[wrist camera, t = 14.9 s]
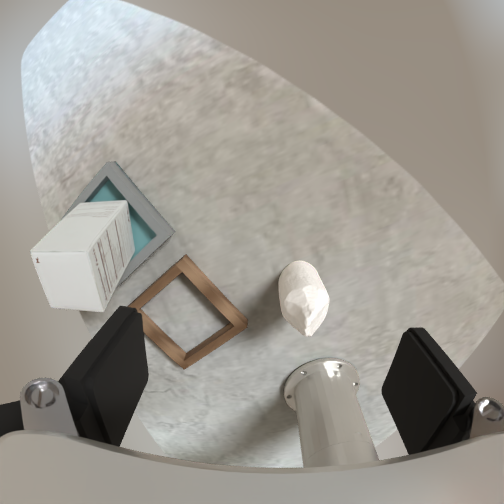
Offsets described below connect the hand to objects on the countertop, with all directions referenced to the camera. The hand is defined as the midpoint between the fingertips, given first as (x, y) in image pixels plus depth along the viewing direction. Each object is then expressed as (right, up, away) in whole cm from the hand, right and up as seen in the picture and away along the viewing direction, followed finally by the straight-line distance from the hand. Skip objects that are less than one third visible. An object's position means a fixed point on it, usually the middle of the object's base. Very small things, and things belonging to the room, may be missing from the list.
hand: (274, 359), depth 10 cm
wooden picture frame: (-10, -5, +31) cm, 33 cm away
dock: (-19, +7, +28) cm, 35 cm away
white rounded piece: (+5, 0, +30) cm, 30 cm away
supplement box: (-20, +7, +26) cm, 33 cm away
